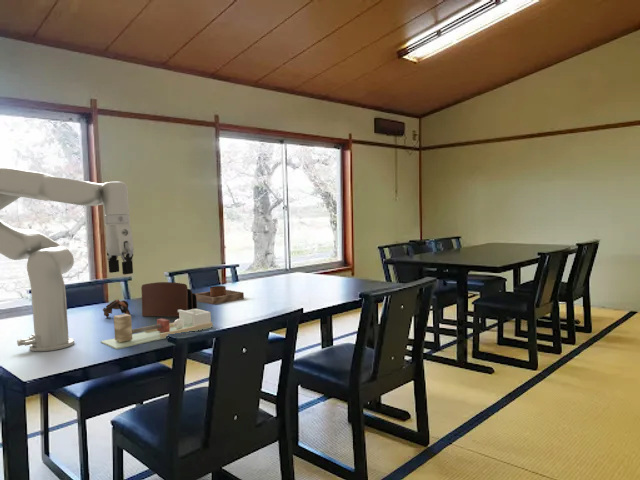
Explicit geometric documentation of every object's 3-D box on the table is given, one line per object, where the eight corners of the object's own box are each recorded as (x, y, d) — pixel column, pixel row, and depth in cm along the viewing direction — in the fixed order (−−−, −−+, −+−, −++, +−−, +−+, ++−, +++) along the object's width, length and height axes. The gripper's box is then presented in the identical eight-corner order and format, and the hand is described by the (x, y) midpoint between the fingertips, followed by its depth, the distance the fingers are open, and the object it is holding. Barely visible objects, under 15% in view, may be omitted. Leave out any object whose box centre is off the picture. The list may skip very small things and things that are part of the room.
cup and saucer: (236, 298, 233) (235, 285, 233) (221, 303, 223) (220, 289, 222) (215, 297, 238) (215, 284, 238) (200, 301, 228) (199, 288, 227)
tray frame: (213, 304, 219) (213, 297, 218) (193, 300, 230) (192, 294, 230) (243, 298, 231) (243, 292, 230) (223, 295, 243) (222, 289, 242)
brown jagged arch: (126, 320, 193) (114, 304, 191) (108, 330, 195) (95, 314, 193) (139, 307, 205) (127, 291, 203) (121, 316, 207) (109, 301, 204)
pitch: (116, 349, 150) (115, 329, 150) (100, 342, 159) (99, 323, 158) (212, 327, 175) (212, 310, 175) (195, 322, 184) (194, 306, 183)
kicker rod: (120, 342, 155) (119, 317, 154) (114, 339, 158) (113, 315, 158) (169, 331, 167) (168, 308, 166) (162, 329, 170) (161, 307, 170)
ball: (177, 330, 170) (176, 320, 169) (172, 329, 172) (171, 319, 172) (186, 328, 172) (185, 318, 172) (181, 327, 175) (180, 317, 175)
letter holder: (188, 317, 195) (186, 282, 194) (141, 316, 198) (140, 282, 197) (197, 311, 205) (196, 278, 204) (153, 311, 207) (151, 279, 207)
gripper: (141, 219, 153) (144, 273, 154) (116, 220, 165) (120, 270, 166) (117, 220, 147) (121, 276, 149) (94, 221, 159) (98, 273, 160)
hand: (121, 273), depth 157 cm, fingers open, 9 cm apart
